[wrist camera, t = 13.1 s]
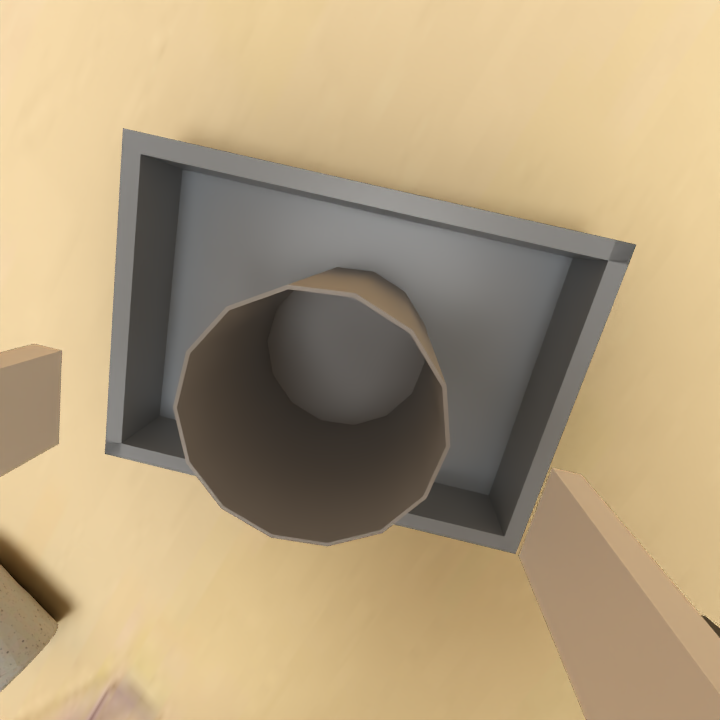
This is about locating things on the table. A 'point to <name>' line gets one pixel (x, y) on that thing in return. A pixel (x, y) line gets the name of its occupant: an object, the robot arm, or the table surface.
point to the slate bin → (392, 262)
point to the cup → (316, 408)
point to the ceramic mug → (20, 628)
